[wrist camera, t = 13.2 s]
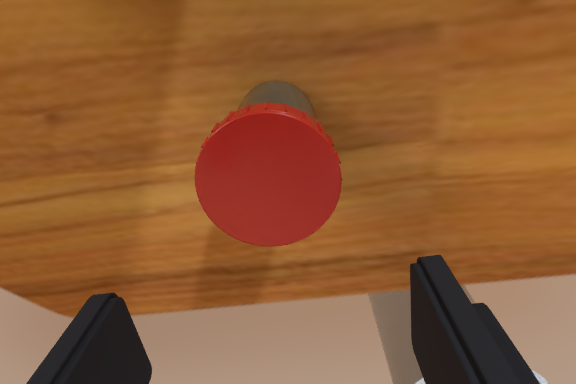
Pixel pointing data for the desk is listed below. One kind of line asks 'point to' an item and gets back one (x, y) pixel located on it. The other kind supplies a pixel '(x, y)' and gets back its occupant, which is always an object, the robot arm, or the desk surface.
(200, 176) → the jam lid
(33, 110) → the desk surface
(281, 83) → the jam jar
